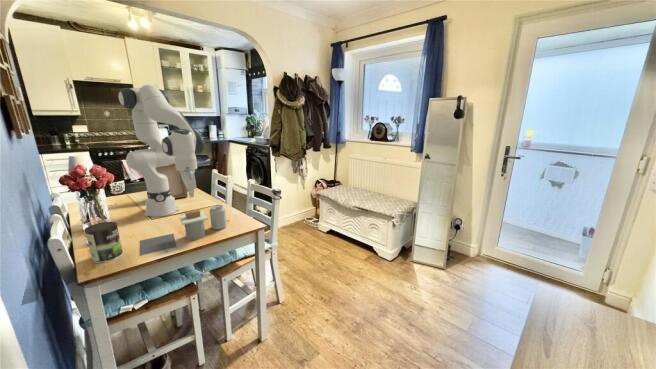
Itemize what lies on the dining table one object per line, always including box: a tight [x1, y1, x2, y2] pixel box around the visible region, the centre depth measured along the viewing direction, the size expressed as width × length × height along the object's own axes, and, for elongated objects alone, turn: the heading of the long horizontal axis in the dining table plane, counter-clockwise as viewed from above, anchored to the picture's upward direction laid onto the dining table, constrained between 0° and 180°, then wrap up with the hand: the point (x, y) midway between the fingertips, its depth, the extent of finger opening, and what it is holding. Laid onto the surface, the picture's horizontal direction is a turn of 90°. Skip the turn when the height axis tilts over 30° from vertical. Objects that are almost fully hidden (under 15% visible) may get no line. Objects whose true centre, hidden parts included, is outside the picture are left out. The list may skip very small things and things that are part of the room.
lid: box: [178, 209, 209, 226], centre depth 127 cm, size 11×11×3 cm
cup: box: [184, 220, 206, 241], centre depth 128 cm, size 8×8×10 cm
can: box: [209, 204, 227, 231], centre depth 139 cm, size 8×8×12 cm
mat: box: [138, 233, 178, 257], centre depth 122 cm, size 16×14×1 cm
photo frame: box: [156, 163, 189, 199], centre depth 181 cm, size 15×22×25 cm
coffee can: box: [84, 221, 124, 264], centre depth 109 cm, size 10×10×14 cm
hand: (190, 193), depth 124 cm, fingers open, 8 cm apart
